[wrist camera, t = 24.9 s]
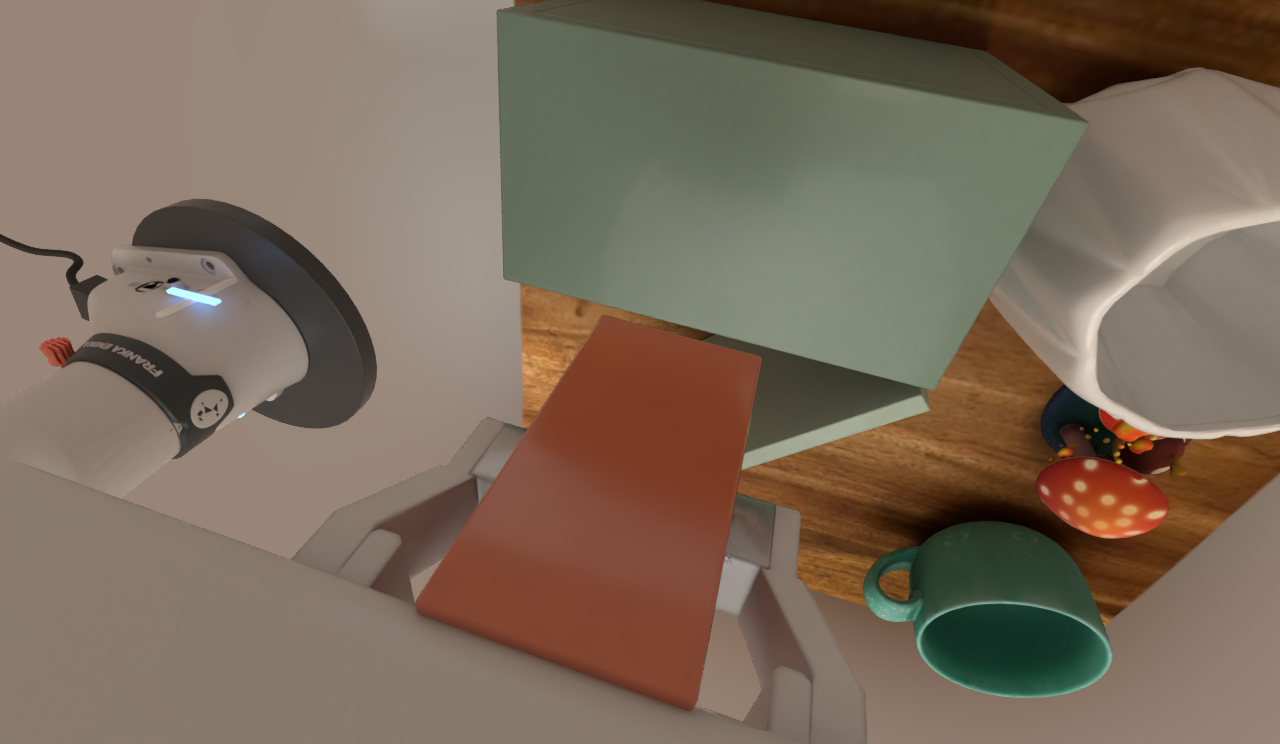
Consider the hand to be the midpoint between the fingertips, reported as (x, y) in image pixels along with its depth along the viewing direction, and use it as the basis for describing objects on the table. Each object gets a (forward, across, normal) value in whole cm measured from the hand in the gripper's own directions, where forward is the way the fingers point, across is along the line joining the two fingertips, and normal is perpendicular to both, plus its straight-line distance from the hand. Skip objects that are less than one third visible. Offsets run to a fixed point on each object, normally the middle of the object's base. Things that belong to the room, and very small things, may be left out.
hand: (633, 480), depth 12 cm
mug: (+30, -25, +30) cm, 49 cm away
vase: (+30, -19, 0) cm, 35 cm away
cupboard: (+30, 0, -1) cm, 30 cm away
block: (+3, 0, 0) cm, 3 cm away
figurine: (+30, -28, +13) cm, 43 cm away
